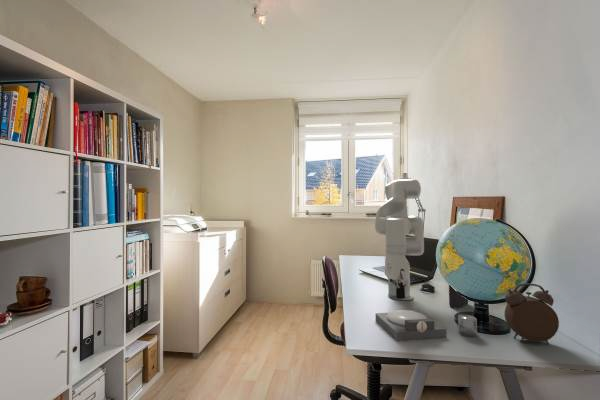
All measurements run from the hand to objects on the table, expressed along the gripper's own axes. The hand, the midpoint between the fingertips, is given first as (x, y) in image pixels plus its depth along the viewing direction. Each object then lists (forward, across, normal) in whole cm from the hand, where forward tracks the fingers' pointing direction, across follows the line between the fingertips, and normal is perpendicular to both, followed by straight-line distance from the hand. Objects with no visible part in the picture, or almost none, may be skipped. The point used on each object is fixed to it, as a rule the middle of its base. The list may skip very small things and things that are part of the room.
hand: (396, 295), depth 115 cm
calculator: (+12, -20, +41) cm, 47 cm away
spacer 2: (+13, +9, +23) cm, 28 cm away
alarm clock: (+13, +18, +40) cm, 46 cm away
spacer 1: (+1, 0, 0) cm, 1 cm away
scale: (+13, +1, +4) cm, 13 cm away
